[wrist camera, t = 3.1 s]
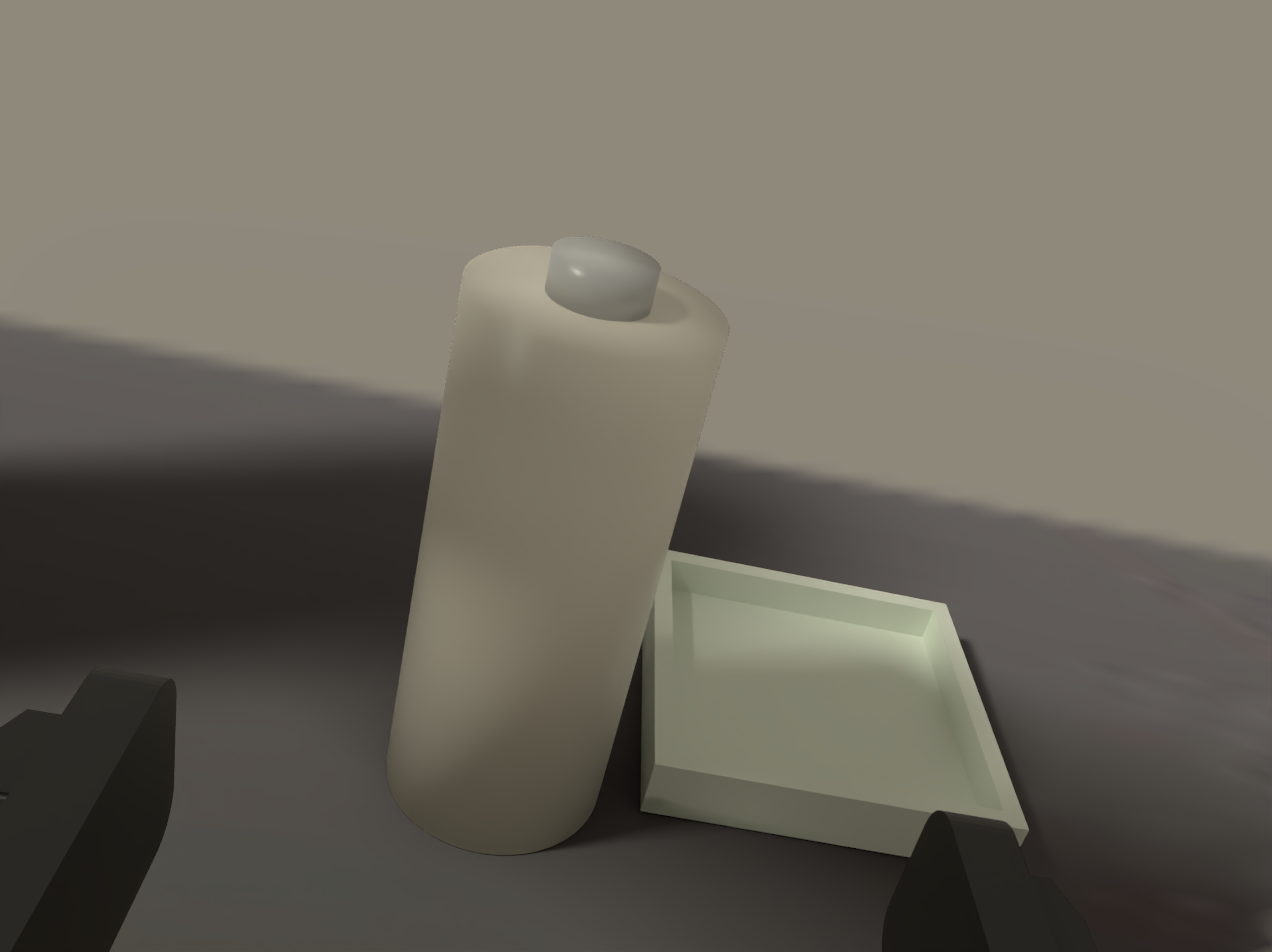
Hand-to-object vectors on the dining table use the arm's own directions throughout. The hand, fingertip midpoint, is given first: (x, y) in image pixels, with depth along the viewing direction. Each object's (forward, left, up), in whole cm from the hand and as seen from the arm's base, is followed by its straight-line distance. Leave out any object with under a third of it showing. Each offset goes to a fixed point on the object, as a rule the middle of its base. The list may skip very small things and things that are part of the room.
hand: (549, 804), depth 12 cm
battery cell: (0, +11, -11) cm, 16 cm away
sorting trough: (+8, +15, -11) cm, 20 cm away
